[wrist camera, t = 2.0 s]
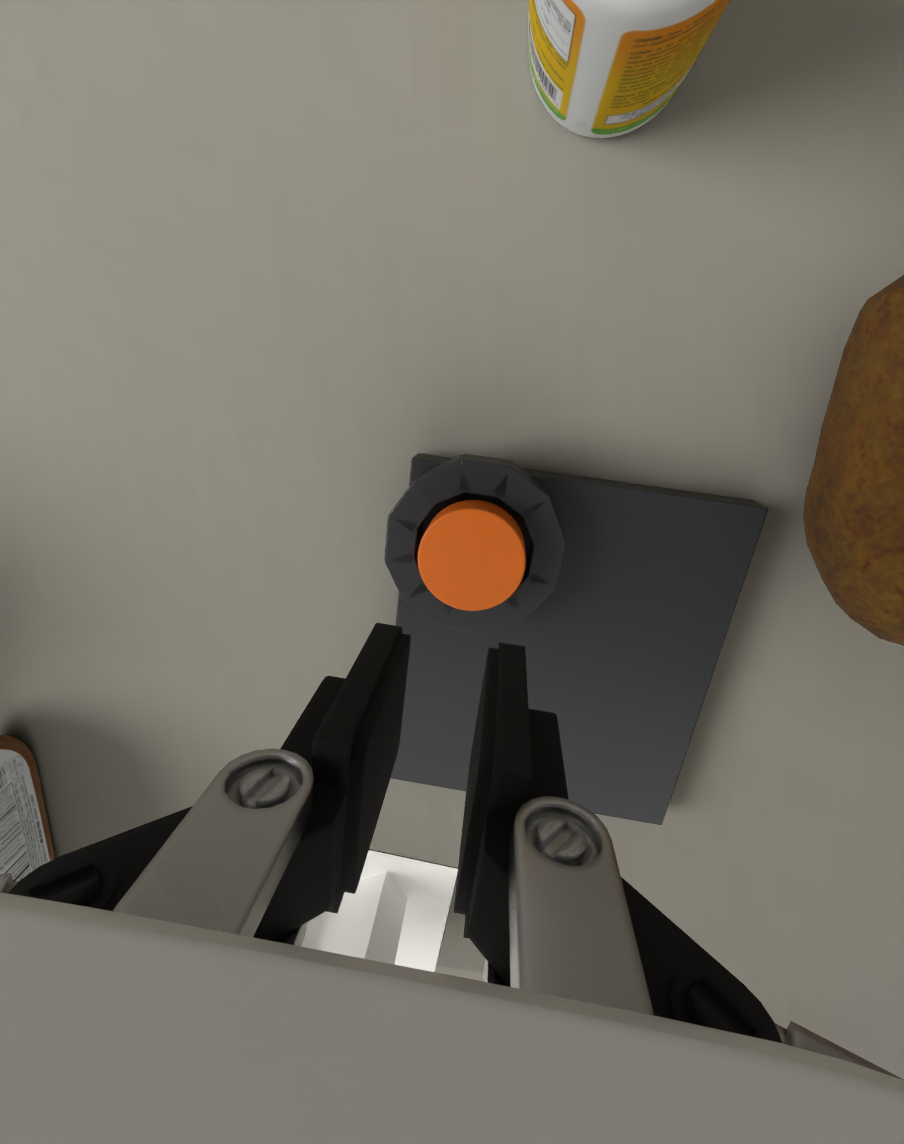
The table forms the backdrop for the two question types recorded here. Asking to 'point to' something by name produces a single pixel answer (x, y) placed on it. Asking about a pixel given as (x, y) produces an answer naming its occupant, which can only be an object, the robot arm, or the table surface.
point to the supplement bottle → (614, 58)
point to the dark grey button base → (575, 624)
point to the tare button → (472, 555)
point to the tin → (21, 812)
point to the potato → (864, 473)
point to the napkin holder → (389, 913)
